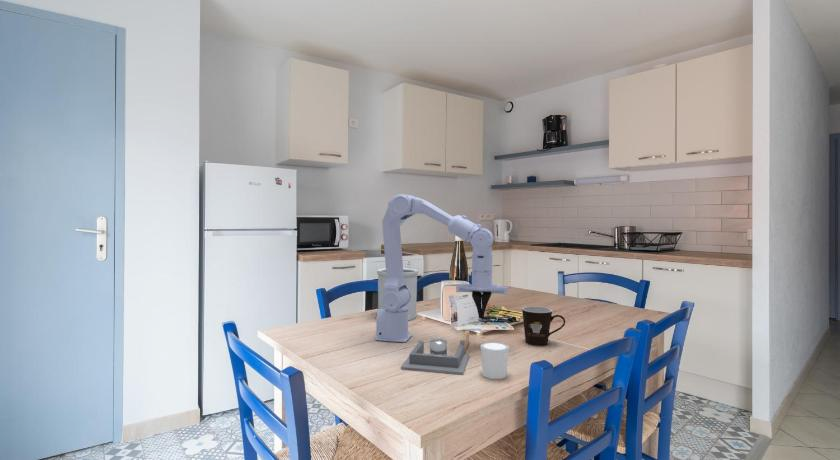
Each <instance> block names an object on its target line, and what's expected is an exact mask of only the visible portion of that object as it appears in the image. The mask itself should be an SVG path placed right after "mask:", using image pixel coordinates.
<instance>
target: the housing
mask: <svg viewBox="0 0 840 460" xmlns="http://www.w3.org/2000/svg"><path fill="white" fill-rule="evenodd" d="M424 345H425V341H422V340H421V341H418V342H417V344H416V345H415V346H414V347H413V349H412V350H411V352H410V353H409V356H408V357H407V358H406V360H405V361H404V362H403V363H402V365H401V366H400V369H401V370H405V371H417V372H426V373H427V372H429V373H437V374H451V375H464V373H465V370H466V367H467V364H468V361H469V359H470V356H471V355H470V353H464V345H462V344H459V345H458V346H457V349H456V352H455V353H454V355H447V356H445V355H432V354H430V353H425V351H424V350H425V346H424Z"/></svg>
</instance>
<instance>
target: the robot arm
mask: <svg viewBox="0 0 840 460" xmlns="http://www.w3.org/2000/svg"><path fill="white" fill-rule="evenodd" d="M416 214H417V215H418V214H420V215H421V214H423V215H425V216H428V217H429V218H431V219H433V220H435V221H437V222H439V223H441V224H443V225H445V226H447V229H448V232H449V233H451V234H452V235H454V236H456V237H458V239H459V238H460V239H462V241H465V242H466V243H470V244H471V246H472V255H471V284H456V287H455V290H456V291H455V292H456V293H462V292H463V293H471V297H472V300H473V301H474V304H475V307H476V310H477V314H478V319H483V320H484V319H485V315H486V314H485V313H486V310H487V309H486V308H487V306H488V302H489V301H490V298H491V297H492V294H501V295H502V294H503V295H509V294H508V293H509V292H508V289H509V288H508V286H507V285H506V286H505V285H504V286H503V285H493V246H492V245H493V243H494V238H495V237H494V235H493V233H492V232H491V231H490V230H489V229H488V228H487V227H482V225H481V224H480V223H477V224H476V222H475V223H474V222H472V221H471V220H469V219H468V216H466V215H465V214H463V215H460V214H457V215H455V216H453V215H451V214H449V213H447V212H446V211H445V210H443V209H441V208H439V207H437V206H436V205H434V204H433V203H431V202H429V201H428V200H425V199H423V198H421V197H417V196H416V195H413V194H405V193H399V194H396V195H394V196H393V197H392V198H391V199H390V200H389V201H388V203H387V207H386V211H385V213H384V216H383V218H382V222H381V224H382V225H381V226H382V236H383V237H382V238H383V248H384V250H383V251H384V260H385V261H384V262H385V268H386V276H387V280H386V282H385V285H384V293H383V296H382V304H383V306H384V307H385V309H379V310H378V309H377V314H376V321H375V323H376V324H375V325H376V329H375V330H376V331H375V332H376V336H375V341H381V342H383V341H385V342H396V343H407V342H408V340H409V339H410V338H411V337H412V335H413V334H412V333H409V320H408V306H407V303H408V302H409V301H410V298H411V293H410V291H409V289H408V287H407V281H406V280H405V278H404V273H403V268H404V262H403V251H402V250H403V249H402V237H401V226H402V225H403V223H404V222H405V221H407V220H408V219H409V218H411V217H413V216H414V215H416Z"/></svg>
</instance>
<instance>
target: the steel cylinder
mask: <svg viewBox="0 0 840 460" xmlns="http://www.w3.org/2000/svg"><path fill="white" fill-rule="evenodd" d="M429 354H432V355H445V356H448V341H447V339H445V338H433V339H430V340H429Z"/></svg>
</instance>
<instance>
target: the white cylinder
mask: <svg viewBox="0 0 840 460" xmlns="http://www.w3.org/2000/svg"><path fill="white" fill-rule="evenodd" d="M509 353H510V346H509V345H507V344H506V343H503V342H498V341H497V342H496V341H495V342H494V341H491V342H483V343H482V344H480V355H481V369H482V375H483V376H484V378H486V379H491V380H502V379H505V378H506V377H507V374H508V363H509Z"/></svg>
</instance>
